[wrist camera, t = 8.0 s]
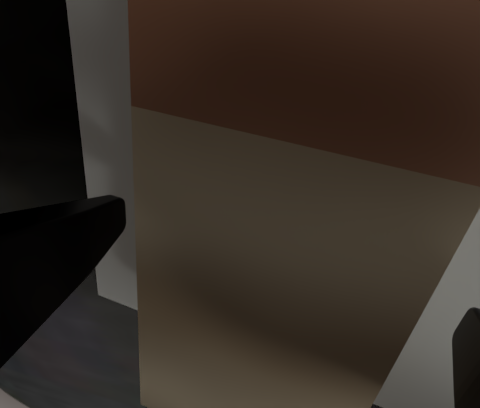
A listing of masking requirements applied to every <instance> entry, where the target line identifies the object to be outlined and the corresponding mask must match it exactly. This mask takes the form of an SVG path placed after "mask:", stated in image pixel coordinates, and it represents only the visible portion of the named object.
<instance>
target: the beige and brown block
mask: <svg viewBox="0 0 480 408" xmlns="http://www.w3.org/2000/svg"><path fill="white" fill-rule="evenodd" d="M128 29H129V60H130V90H131V121H132V151H133V182H134V212H135V243H136V273H137V304H138V334H139V365H140V395H141V405H144V406H146V407H148V408H371V406H372V404H373V402H374V401H375V399H376V397H377V395H378V393H379V391H380V390H381V388H382V386H383V384H384V382H385V381H386V379H387V377H388V375H389V373H390V371H391V370H392V368H393V366H394V364H395V362H396V360H397V359H398V357H399V355H400V353H401V351H402V349H403V348H404V346H405V344H406V342H407V340H408V338H409V337H410V335H411V333H412V331H413V329H414V327H415V326H416V324H417V322H418V320H419V318H420V316H421V315H422V313H423V311H424V309H425V307H426V306H427V304H428V302H429V300H430V298H431V296H432V295H433V293H434V291H435V289H436V287H437V285H438V284H439V282H440V280H441V278H442V276H443V274H444V273H445V271H446V269H447V267H448V265H449V263H450V262H451V260H452V258H453V256H454V254H455V252H456V251H457V249H458V247H459V245H460V243H461V241H462V240H463V238H464V236H465V234H466V232H467V231H468V229H469V227H470V225H471V223H472V221H473V220H474V218H475V216H476V214H477V212H478V210H479V209H480V0H128Z"/></svg>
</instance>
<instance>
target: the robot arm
mask: <svg viewBox="0 0 480 408" xmlns="http://www.w3.org/2000/svg"><path fill="white" fill-rule="evenodd" d="M125 227H126V207H125V201H124V199H123V198H120V197H117V196H114V195H105V196H99V197H94V198H88V199H82V200H76V201H71V202H65V203H59V204H54V205H48V206H42V207H37V208H31V209H25V210H20V211H14V212H8V213H2V214H0V368H1V367H2V366H3V365H4V364H5V363H6V362H7V361H8V360H9V359H10V358H11V357H12V356H13V355H14V354H15V352H16V351H17V350H18V349H19V348H20V347H21V346H22V345H23V344H24V343H25V342H26V341H27V340H28V339H29V338H30V337H31V336H32V335H33V333H34V332H35V331H36V330H37V329H38V328H39V327H40V326H41V325H42V324H43V323H44V322H45V321H46V320H47V319H48V318H49V317H50V316H51V314H52V313H53V312H54V311H55V310H56V309H57V308H58V307H59V306H60V305H61V304H62V303H63V302H64V301H65V300H66V299H67V298H68V297H69V295H70V294H71V293H72V292H73V291H74V290H75V289H76V288H77V287H78V286H79V285H80V284H81V283H82V282H83V281H84V280H85V279H86V278H87V276H88V275H89V274H90V273H91V272H92V271H93V270H94V269H95V267H96V266H97V265H98V264H99V262H100V261H101V260H102V258H103V257H104V256H105V255H106V253H107V252H108V251H109V249H110V248H111V247H112V246H113V244H114V243H115V242H116V240H117V239H118V238H119V236H120V235H121V234H122V233H123V231H124V229H125ZM452 361H453V390H454V407H455V408H480V309H479V308H476V307H472V308H470V309H468V310H467V312H466V313H465V315H464V317H463V318H462V320H461V321H460V323H459V324H458V326H457V328H456V329H455V331H454V333H453V336H452Z"/></svg>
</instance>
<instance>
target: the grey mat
mask: <svg viewBox="0 0 480 408" xmlns="http://www.w3.org/2000/svg"><path fill="white" fill-rule="evenodd" d="M66 5H67V14H68V23H69V32H70V42H71V51H72V60H73V69H74V78H75V87H76V96H77V105H78V114H79V124H80V133H81V142H82V151H83V160H84V169H85V178H86V187H87V196H88V198H94V197H99V196H105V195H114V196H117V197H120V198H123V199H124V201H125V207H126V227H125V229H124V231H123V233H122V234H121V235H120V236H119V238H118V239H117V240H116V242H115V243H114V244H113V246H112V247H111V248H110V249H109V251H108V252H107V253H106V255H105V256H104V257H103V258H102V260H101V261H100V262H99V264H98V265H97V266H96V267H95V269H96V278H97V288H98V295H100V296H103V297H105V298H108V299H110V300H113V301H115V302H118V303H120V304H123V305H125V306H128V307H130V308H133V309H135V310H138V304H137V273H136V243H135V212H134V182H133V151H132V121H131V90H130V60H129V29H128V0H66ZM472 307H476V308H479V309H480V209H479V210H478V212H477V214H476V216H475V218H474V220H473V221H472V223H471V225H470V227H469V229H468V231H467V232H466V234H465V236H464V238H463V240H462V241H461V243H460V245H459V247H458V249H457V251H456V252H455V254H454V256H453V258H452V260H451V262H450V263H449V265H448V267H447V269H446V271H445V273H444V274H443V276H442V278H441V280H440V282H439V284H438V285H437V287H436V289H435V291H434V293H433V295H432V296H431V298H430V300H429V302H428V304H427V306H426V307H425V309H424V311H423V313H422V315H421V316H420V318H419V320H418V322H417V324H416V326H415V327H414V329H413V331H412V333H411V335H410V337H409V338H408V340H407V342H406V344H405V346H404V348H403V349H402V351H401V353H400V355H399V357H398V359H397V360H396V362H395V364H394V366H393V368H392V370H391V371H390V373H389V375H388V377H387V379H386V381H385V382H384V384H383V386H382V388H381V390H380V391H379V393H378V395H377V397H376V399H375V401H374V402H373V404H375V405H377V406H380V407H382V408H455V407H454V390H453V361H452V336H453V333H454V331H455V329H456V328H457V326H458V324H459V323H460V321H461V320H462V318H463V317H464V315H465V313H466V312H467V310H468V309H470V308H472Z"/></svg>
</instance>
